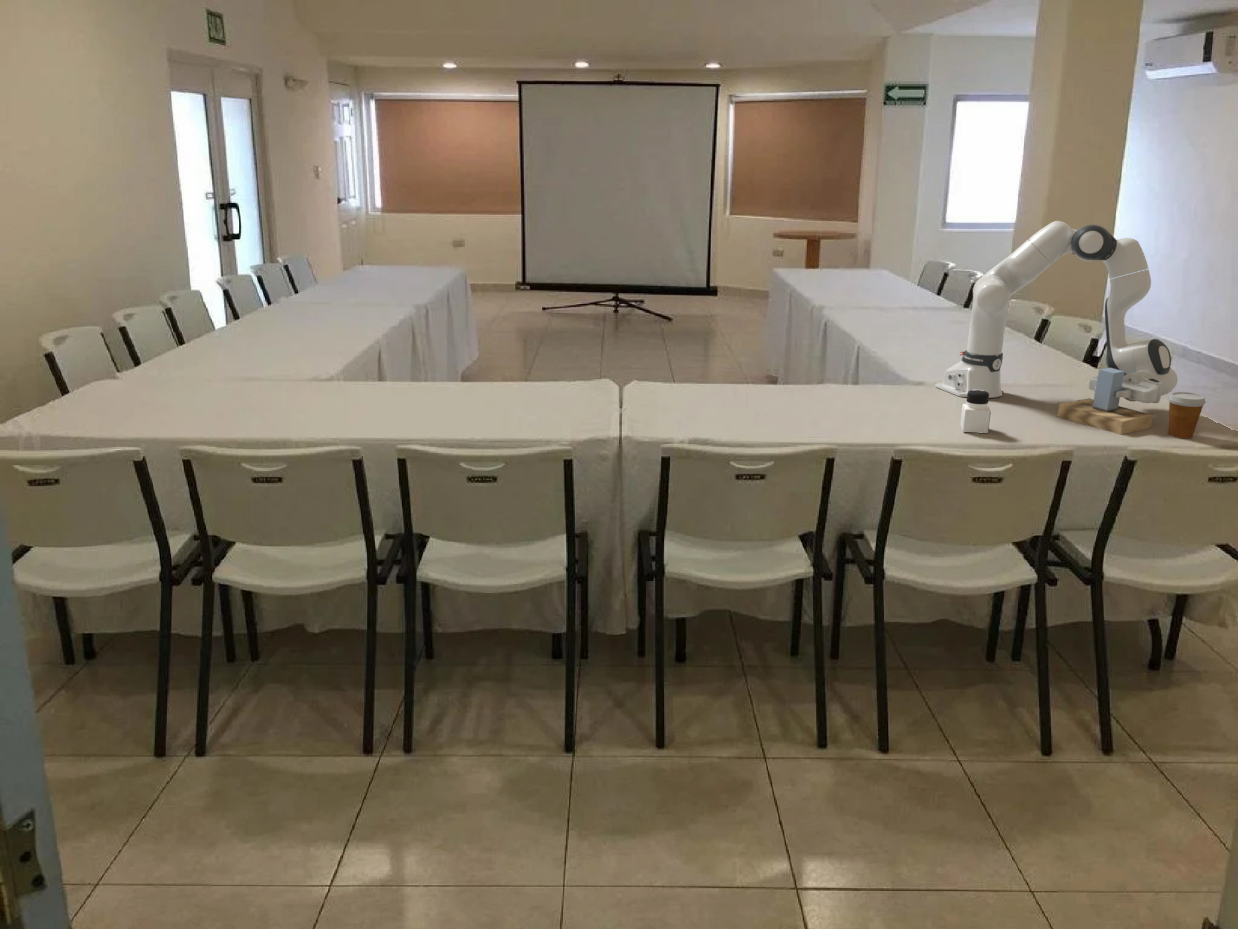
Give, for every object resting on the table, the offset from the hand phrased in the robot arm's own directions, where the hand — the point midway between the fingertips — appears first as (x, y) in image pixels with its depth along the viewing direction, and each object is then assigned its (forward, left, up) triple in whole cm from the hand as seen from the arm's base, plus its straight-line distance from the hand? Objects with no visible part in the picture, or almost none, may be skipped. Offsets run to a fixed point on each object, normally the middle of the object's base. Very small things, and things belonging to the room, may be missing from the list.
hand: (1106, 392), depth 304 cm
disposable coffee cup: (+20, +8, -10) cm, 24 cm away
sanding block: (0, +1, -5) cm, 5 cm away
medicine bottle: (-13, -40, -10) cm, 43 cm away
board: (0, +1, -10) cm, 10 cm away
